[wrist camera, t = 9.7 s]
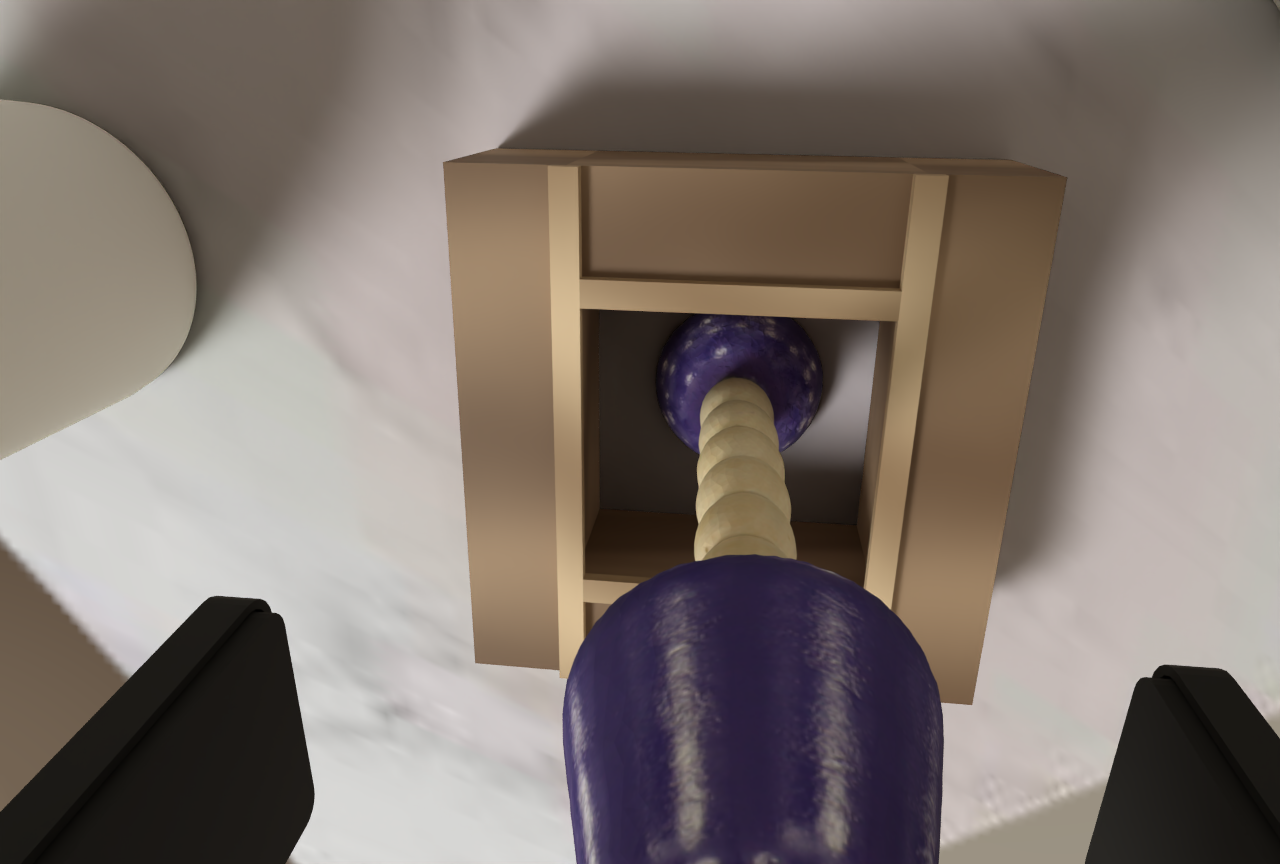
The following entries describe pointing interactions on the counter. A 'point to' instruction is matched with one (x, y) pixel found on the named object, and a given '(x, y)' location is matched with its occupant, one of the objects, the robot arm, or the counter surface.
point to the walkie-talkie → (1277, 3)
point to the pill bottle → (82, 273)
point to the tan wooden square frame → (758, 286)
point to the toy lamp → (750, 656)
